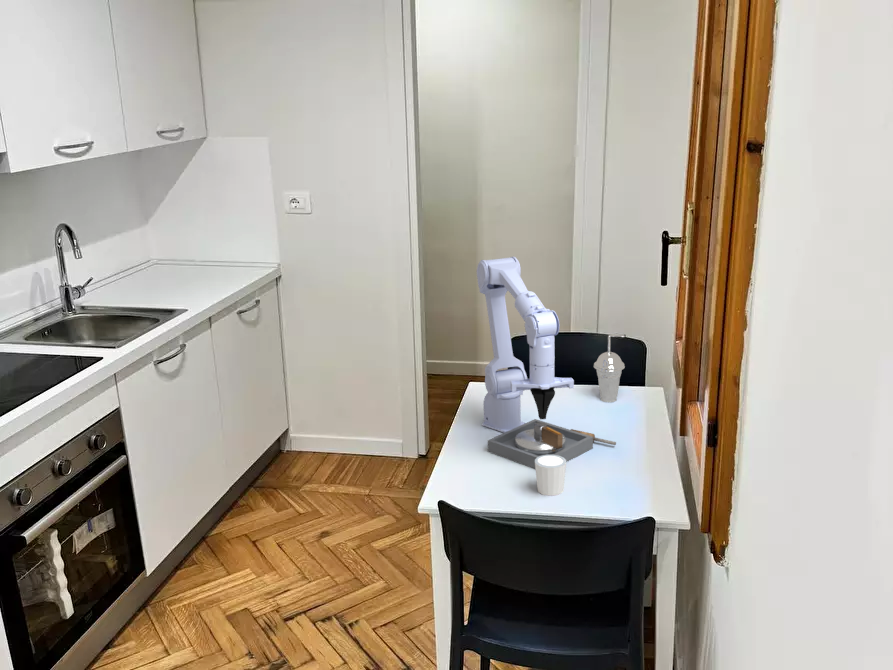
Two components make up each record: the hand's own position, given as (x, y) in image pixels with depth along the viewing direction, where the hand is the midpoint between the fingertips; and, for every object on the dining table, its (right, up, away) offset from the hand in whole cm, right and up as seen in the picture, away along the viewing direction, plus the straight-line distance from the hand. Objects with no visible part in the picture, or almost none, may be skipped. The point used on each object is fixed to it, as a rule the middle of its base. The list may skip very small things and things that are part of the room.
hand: (542, 417), depth 196 cm
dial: (+1, -7, +5) cm, 9 cm away
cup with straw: (+23, +1, +37) cm, 44 cm away
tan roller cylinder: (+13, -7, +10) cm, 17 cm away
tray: (0, -8, +6) cm, 10 cm away
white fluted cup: (0, -15, -14) cm, 20 cm away
